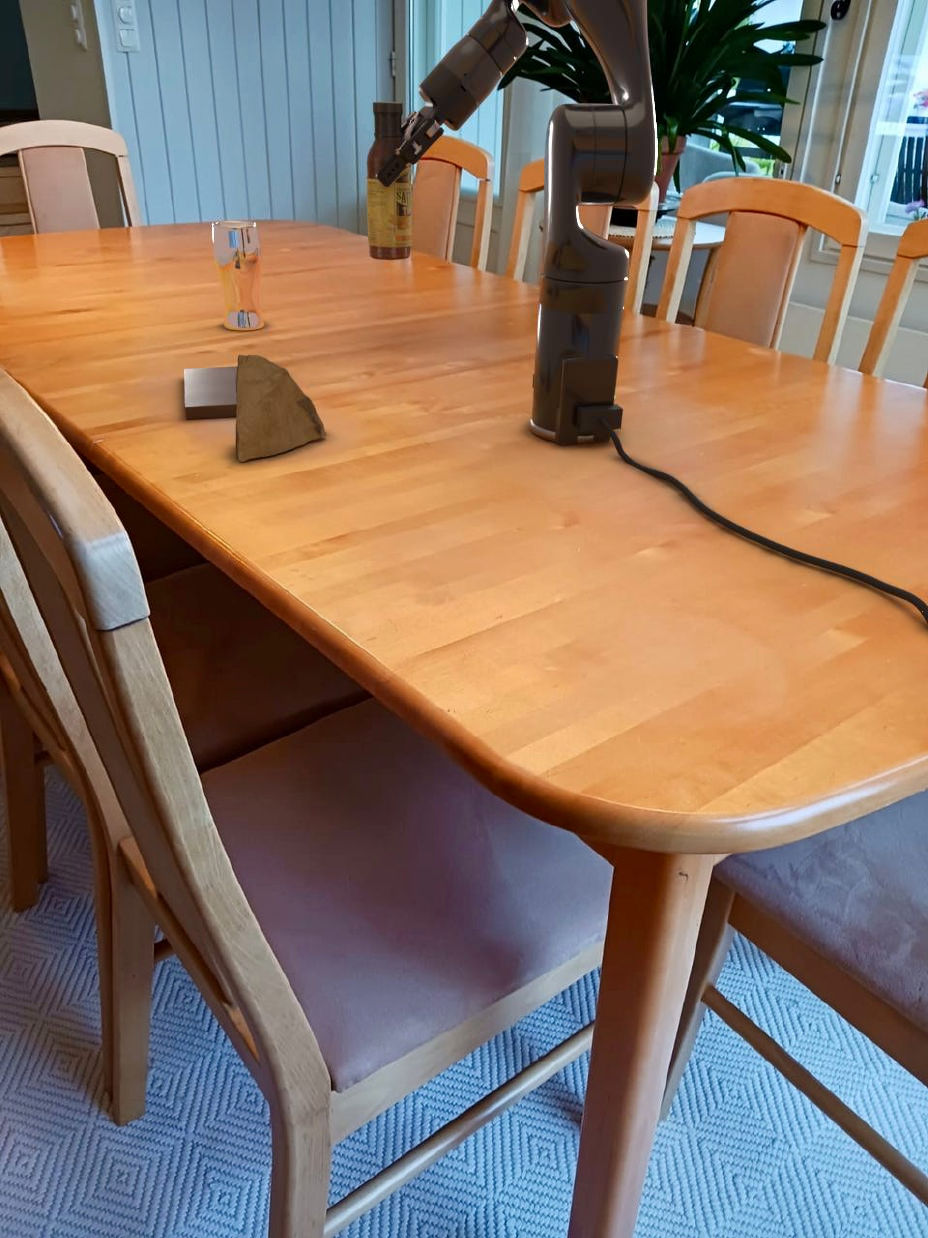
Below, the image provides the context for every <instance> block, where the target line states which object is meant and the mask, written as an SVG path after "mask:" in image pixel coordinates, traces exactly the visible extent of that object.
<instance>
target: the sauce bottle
mask: <svg viewBox="0 0 928 1238" xmlns="http://www.w3.org/2000/svg"><path fill="white" fill-rule="evenodd" d="M372 113H373V114H372V115H373V119H374V121H373V122H374V133H373V136H374V140H373V143H372V145H371V147H370V148H369V151H368V153H367V157H366V169H367V170H366V172H367V173H366V176H367V177H366V207H367V208H366V210H367V211H366V213H367V244H368V249H369V250H368V253H369V257H370V258H371V259H373V260H378V261H380V260H381V261H399V260H406V259H409V258H410V257H411V251H412V250H411V248H412V245H413V243H412V242H413V241H412V237H413V236H412V233H413V232H412V165H411V166H409V167H406V166H405V169H404V170H403V171H402V172H401V173H400V175H399V176H398V177H397V178H396V179H395V180H394V181H393V183H392V184H391V185H390V186H389V187H385V186H383V185H382V183H381V182H380V181H379V180H378V179H377V178H376V174H377V172H378V171H379V170H380V169H381V168H382V167H383V166H384V164H385V163H386V162H387V161H388V160H389V159H390V157H391V156H392V155H395V154H394V153H395V150H396V149H397V148H398V147H399V145H400V144H401V136H402V123H403V121H402V120H403V119H402V117H403V114H404V109H403V102H399V101H373V102H372ZM395 157H396V155H395Z"/></svg>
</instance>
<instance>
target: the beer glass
mask: <svg viewBox="0 0 928 1238" xmlns="http://www.w3.org/2000/svg"><path fill="white" fill-rule="evenodd" d="M211 226H212V249H213V259H214V264H215V269H216V273H217V277H218V281H219V284H220V288H221V291H222V295H223V301H224V319H223V321H224V323H223V326H224V328H225V329H227V330H229V331H238V332H239V331H241V332H246V331H254V330H255V331H256V330H260V329H262V328H263V327H264V326H265V323H264V317H263V315H262V311H261V305H260V304H261V303H260V290H261V277H262V251H261V243H260V235H259V230H258V223H257V222H255V221H251V220H220V221H216V222H215V221H214V222H213V223H212V224H211Z"/></svg>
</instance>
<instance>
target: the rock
mask: <svg viewBox="0 0 928 1238" xmlns="http://www.w3.org/2000/svg"><path fill="white" fill-rule="evenodd" d="M236 367H237V373H236V393H237V397H236V403H237V408H236V417H235V420H236V421H235V445H234V446H235V456H236V459H238V462H240V463H245V462H247V461H248V460H251V459H258V458H266V457H271V456H276V455H279V454H282V453H285V452H287V451H290V450H293V449H294V448H297V447H301V446H303V445H305V444H307V443H309V442H313V441H316V440H318V439H322V438H323V437H326V436H327V432H326V430H325V425H324V423H323V421H322V419H321V417H320V414H319V413H318V411H317V408H316V406H315V404H314V401H313V400H312V399H311V398H310V397H309V396H308V395H307V394H305V392H304V391H303V390H302V389H301V388H300V386H299V385H298V383H297V382H296V381H295V380H294V378H292V376H291V373H290V372H289V370H288V369H286V368H285V367H283V366H280V365H279V364H277V363H275V362H273V361H270V360H269V359H267V358H266V357H264V356H261V355H258V354H247V355H244V354H238V356H237V366H236Z"/></svg>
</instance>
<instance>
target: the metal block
mask: <svg viewBox="0 0 928 1238" xmlns="http://www.w3.org/2000/svg"><path fill="white" fill-rule="evenodd" d="M183 369H184V371H183V372H184V373H183V375H184V377H183V378H184V412H185V413H184V414H185V419H186V420H200V419H201V420H203V419H217V418H219V419H220V418H221V419H222V418H237V417H236V408H237V403H236V397H237V393H236V373H237V366H219V367H215V366H214V367H197V368H196V367H195V368H194V367H193V368H183Z"/></svg>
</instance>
